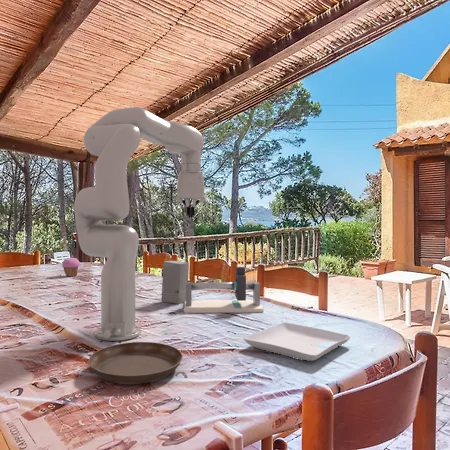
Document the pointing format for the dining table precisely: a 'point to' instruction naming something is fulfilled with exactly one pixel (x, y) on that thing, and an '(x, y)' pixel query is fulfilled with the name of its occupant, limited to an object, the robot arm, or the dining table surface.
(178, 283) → the skincare box
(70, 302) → the dining table surface
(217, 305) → the board
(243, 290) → the collar
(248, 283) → the rail
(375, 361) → the dining table surface
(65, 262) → the cupcake
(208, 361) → the dining table surface
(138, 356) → the plant saucer
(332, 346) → the salad plate
